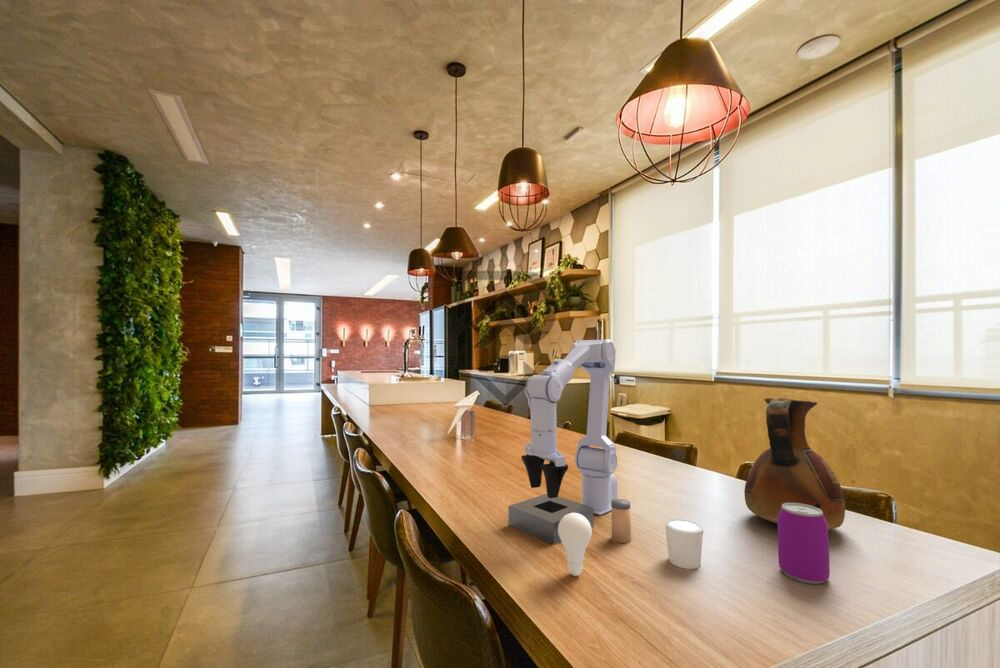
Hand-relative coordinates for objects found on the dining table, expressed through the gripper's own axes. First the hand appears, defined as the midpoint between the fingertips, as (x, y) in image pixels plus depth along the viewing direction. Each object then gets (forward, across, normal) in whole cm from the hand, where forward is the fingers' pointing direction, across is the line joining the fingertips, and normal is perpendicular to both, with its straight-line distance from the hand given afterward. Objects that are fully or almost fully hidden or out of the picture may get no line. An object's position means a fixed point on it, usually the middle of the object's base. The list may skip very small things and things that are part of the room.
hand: (543, 492), depth 96 cm
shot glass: (+10, +20, +20) cm, 30 cm away
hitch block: (+10, -5, +5) cm, 12 cm away
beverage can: (+10, +33, +35) cm, 50 cm away
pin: (+10, +7, +15) cm, 20 cm away
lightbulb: (+10, +16, -3) cm, 19 cm away
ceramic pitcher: (+10, +17, +58) cm, 61 cm away
